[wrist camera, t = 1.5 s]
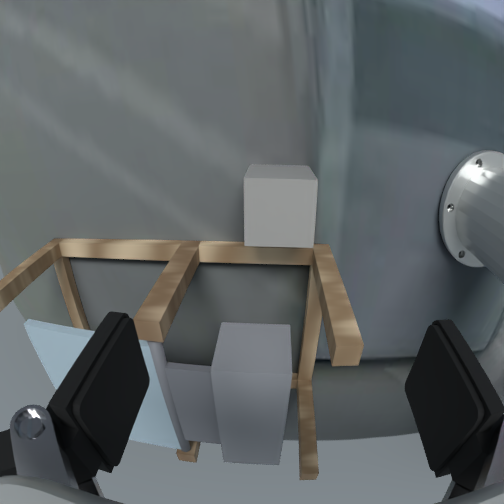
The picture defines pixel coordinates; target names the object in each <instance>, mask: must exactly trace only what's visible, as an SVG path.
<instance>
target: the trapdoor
mask: <svg viewBox="0 0 504 504" xmlns="http://www.w3.org/2000/svg"><path fill="white" fill-rule="evenodd" d="M24 326H25V328H26V331H27V333H28V335H29V337H30V339H31V342H32V344H33V346H34V348H35V350H36V352H37V354H38V356H39V358H40V360H41V362H42V364H43V366H44V368H45V370H46V372H47V374H48V375H49V378H50V379H51V381H52V383H53V385H54V387H55V388H56V390H57V389H58V387H59V386H60V384H61V382H62V381H63V379H64V378H65V376H66V375H67V373H68V371H69V370H70V368H71V367H72V365H73V364H74V362H75V361H76V359H77V358H78V356H79V355H80V353H81V352H82V350H83V349H84V347H85V346H86V344H87V343H88V341H89V340H90V338H91V337H92V335H93V334H94V332H95V331H91V330H85V329H79V328H73V327H67V326H62V325H57V324H51V323H46V322H41V321H37V320H32V319H28V320H27V321H26V322H25V323H24ZM139 343H140V346H141V350H142V353H143V357H144V360H145V364H146V367H147V370H148V373H149V377H150V383H149V387H148V390H147V392H146V395H145V397H144V400H143V403H142V405H141V408H140V410H139V413H138V415H137V418H136V421H135V423H134V426H133V428H132V431H131V434H130V436H129V439H130V440H134V441H139V442H144V443H148V444H153V445H159V446H164V447H170V448H176V449H181V450H182V451H183V452H188V451H190V449H191V447H190V444H189V441H188V440H190V441H198V442H206V443H216V444H221V447H222V453H223V459H224V462H232V463H245V464H266V465H279V462H280V456H281V450H282V443H283V437H284V431H285V424H286V417H287V410H288V403H289V396H290V388H291V380H292V355H291V335H290V325H283V324H251V323H229V322H222V323H221V327H220V332H219V336H218V340H217V344H216V349H215V353H214V357H213V362H212V366H202V365H191V364H181V363H172V362H167V360H166V356H165V352H164V347H163V343H162V342H155V341H146V340H139Z"/></svg>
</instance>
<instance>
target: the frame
mask: <svg viewBox="0 0 504 504" xmlns="http://www.w3.org/2000/svg"><path fill="white" fill-rule="evenodd" d="M69 257H88V258H111V259H135V260H161V261H169V263H168V264H167V266H166V267H165V269H164V270H163V272H162V274H161V275H160V277H159V278H158V280H157V281H156V283H155V285H154V286H153V288H152V289H151V291H150V293H149V294H148V296H147V297H146V299H145V301H144V302H143V304H142V306H141V307H140V309H139V310H138V312H137V314H136V315H135V317H134V319H133V320H134V324H135V327H136V331H137V335H138V339H139V340H146V341H155V342H164V340H165V338H166V335H167V333H168V331H169V329H170V326H171V324H172V322H173V320H174V317H175V315H176V313H177V311H178V308H179V306H180V304H181V302H182V299H183V297H184V295H185V293H186V291H187V288H188V286H189V284H190V282H191V280H192V278H193V275H194V273H195V271H196V269H197V267H198V265H199V262H218V263H250V264H285V265H310V269H309V280H308V290H307V300H306V309H305V318H304V326H303V335H302V343H301V351H300V358H299V366H298V373H292V380H291V388H297V407H298V433H299V469H300V480H315V479H316V478H317V476H318V474H319V471H318V455H317V441H316V428H315V416H314V405H313V394H312V383H311V378H312V373H313V368H314V362H315V356H316V351H317V345H318V339H319V332H320V326H321V320H322V316H323V321H324V326H325V331H326V337H327V342H328V347H329V353H330V358H331V364H332V366H353V365H358V364H359V361H360V357H361V354H362V350H363V347H364V344H363V341H362V338H361V335H360V331H359V328H358V325H357V322H356V319H355V316H354V313H353V310H352V307H351V305H350V302H349V299H348V296H347V293H346V290H345V287H344V285H343V282H342V279H341V276H340V273H339V271H338V268H337V265H336V263H335V260H334V257H333V255H332V252H331V249H330V247H329V244H314V245H313V248H298V247H260V246H244V242H226V241H180V240H125V239H53V240H52V241H50V242H49V243H48V244H46V245H45V246H44V247H42V248H41V249H40V250H38V251H37V252H36V253H34V254H33V255H32V256H30V257H29V258H28V259H26V260H25V261H24V262H23V263H21V264H20V265H19V266H17V267H16V268H15V269H14V270H12V271H11V272H10V273H9V274H8V275H6V276H5V277H4V278H3V279H2V280H1V281H0V312H1V311H2V310H3V309H4V308H5V307H6V306H7V305H8V304H9V303H10V302H11V301H12V300H13V299H14V298H15V297H16V296H17V295H19V294H20V293H21V292H22V291H23V290H24V289H25V288H26V287H27V286H28V285H29V284H31V283H32V282H33V281H34V280H35V279H36V278H37V277H38V276H40V275H41V274H42V273H43V272H44V271H45V270H46V269H48V268H49V267H50V266H51V265H52V264H53V263H54V266H55V270H56V273H57V277H58V280H59V284H60V287H61V290H62V293H63V297H64V300H65V303H66V306H67V309H68V312H69V315H70V318H71V320H72V323H73V326H74V328H79V329H85V330H90V328H89V325H88V322H87V319H86V316H85V313H84V310H83V307H82V304H81V300H80V297H79V294H78V290H77V287H76V283H75V279H74V276H73V272H72V268H71V264H70V260H69ZM188 441H189V444H190V447H191V449H190V451H188V452H183V451H182V450H181V449H177V456H178V458H179V460H182V461H189V462H197V457H198V452H199V447H200V442H198V441H190V440H188Z"/></svg>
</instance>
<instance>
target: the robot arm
mask: <svg viewBox="0 0 504 504" xmlns="http://www.w3.org/2000/svg"><path fill="white" fill-rule="evenodd" d="M439 225H440V232H441V236H442V240H443V242H444V244H445V246H446V248H447V250H448V251H449V252H450V253H451V255H452V256H453V257H454V258H455V259H456V260H457V261H459V262H461V263H462V264H464V265H466V266H470V267H484V266H485V267H487V268H488V269H489V270H490V271H491V272H492V273H493V274H494V275H495V276H496V277H497V278H498V279H499V280H500V281H501V282H502V283H503V284H504V154H502V153H500V152H496V151H492V150H482V151H479V152H475V153H473V154H471V155H470V156H468V157H466V158H465V159H464V160H463V161H462V162H461V163H460V164H459V165H458V166H457V167H456V168H455V170H454V171H453V172H452V174H451V176H450V178H449V180H448V181H447V183H446V186H445V189H444V191H443V194H442V198H441V203H440V209H439ZM149 383H150V377H149V373H148V370H147V367H146V364H145V360H144V357H143V353H142V350H141V346H140V343H139V339H138V335H137V331H136V327H135V324H134V320H133V319H132V318H129V316H128V314H126V313H119V312H109V313H108V314H107V315H106V317H105V318H104V320H103V321H102V322H101V324H100V325H99V327H98V328H97V330H96V331H95V332H94V334H93V335H92V337H91V338H90V340H89V341H88V343H87V344H86V346H85V347H84V349H83V350H82V352H81V353H80V355H79V356H78V358H77V359H76V361H75V362H74V364H73V365H72V367H71V368H70V370H69V371H68V373H67V375H66V376H65V378H64V379H63V381H62V382H61V384H60V386H59V387H58V389H57V390H56V392H55V394H54V395H53V397H52V399H51V400H50V402H49V405H48V406H47V408H46V409H45V408H44V407H41V406H40V405H27V406H25V407H23V408H21V409H20V410H18V411H17V412H16V413H15V414H14V416H13V417H12V420H11V422H10V429H8V430H6V431H3V432H0V504H123V503H119V502H116V501H113V500H109V499H106V498H105V497H104V495H103V493H102V491H101V489H100V487H99V484H98V482H97V480H96V477H95V476H96V474H97V471H98V469H100V470H103V471H106V472H109V473H111V472H112V470H113V467H114V466H118V464H119V463H120V461H121V458H122V455H123V453H124V450H125V447H126V444H127V442H128V439H129V436H130V434H131V431H132V428H133V426H134V423H135V421H136V418H137V415H138V413H139V410H140V408H141V405H142V403H143V400H144V397H145V395H146V392H147V390H148V387H149ZM405 392H406V395H407V398H408V401H409V404H410V406H411V409H412V412H413V415H414V418H415V421H416V424H417V427H418V431H419V434H420V437H421V440H422V443H423V446H424V450H425V453H426V457H427V460H428V464H429V467H430V469H431V470H432V471H434V472H435V475H436V477H441V476H444V475H448V474H450V473H451V476H452V481H451V483H450V486H449V487H448V490H447V492H446V494H445V496H444V498H443V500H442V502H438V503H435V504H504V414H503V413H504V406H503V404H502V402H501V400H500V398H499V396H498V394H497V393H496V391H495V389H494V387H493V385H492V384H491V382H490V380H489V378H488V377H487V375H486V373H485V372H484V370H483V368H482V367H481V365H480V363H479V362H478V360H477V358H476V357H475V355H474V353H473V352H472V350H471V349H470V347H469V345H468V344H467V342H466V341H465V339H464V338H463V336H462V335H461V333H460V332H459V330H458V329H457V327H456V326H455V324H454V323H453V321H452V320H449V319H448V320H436V321H434V322H433V323H432V325H430V326H429V327H428V329H427V331H426V334H425V337H424V339H423V342H422V344H421V347H420V350H419V352H418V354H417V357H416V359H415V362H414V364H413V366H412V369H411V371H410V373H409V376H408V378H407V380H406V383H405Z"/></svg>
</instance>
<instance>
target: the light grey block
mask: <svg viewBox="0 0 504 504" xmlns="http://www.w3.org/2000/svg"><path fill="white" fill-rule="evenodd" d="M317 189H318V179H317V178H316V176H315V175H314V173H313V172H312V170H311V169H310V167H309V166H297V165H259V164H250V165H249V168H248V170H247V172H246V174H245V177H244V246H260V247H298V248H313V245H314V233H315V219H316V205H317Z"/></svg>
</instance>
